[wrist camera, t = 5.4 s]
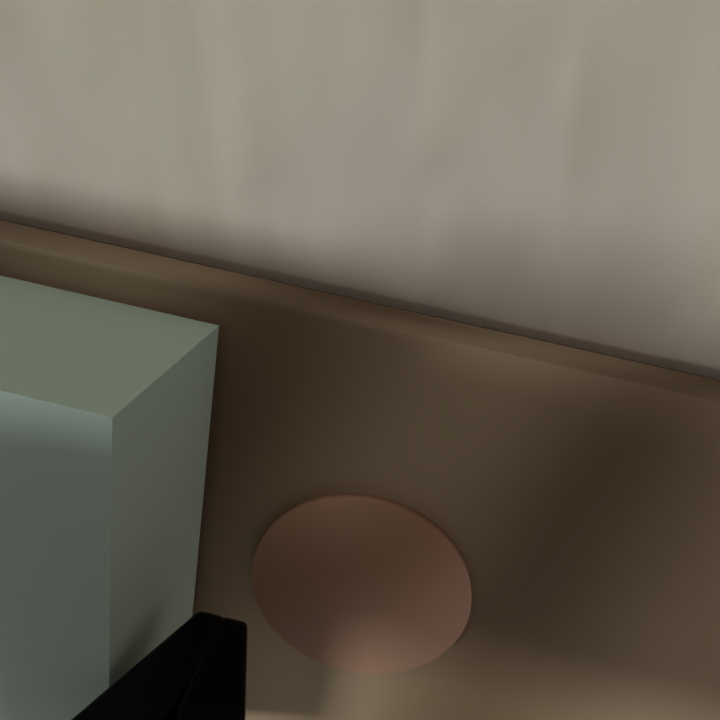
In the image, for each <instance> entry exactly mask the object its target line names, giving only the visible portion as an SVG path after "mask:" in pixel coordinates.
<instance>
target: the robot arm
mask: <svg viewBox="0 0 720 720" xmlns="http://www.w3.org/2000/svg"><path fill="white" fill-rule="evenodd" d="M246 674H247V624H246V623H245V622H243V621H239V620H236V619H232V618H228V617H225V618H223V617H222V616H220V615H216V614H212V613H208V612H205V611H200V612H197V613H196V614H195V615H193V616H192V617H191V618H190V619H189V620H187V621H186V622H185V623H184V624H183V625H182V626H180V627H179V628H178V629H177V630H176V631H175V632H173V633H172V634H171V635H170V636H169V637H167V638H166V639H165V640H164V641H163V642H162V643H160V644H159V645H158V646H157V647H156V648H155V649H153V650H152V651H151V652H150V653H149V654H148V655H146V656H145V657H144V658H143V659H142V660H141V661H139V662H138V663H137V664H136V665H135V666H134V667H132V668H131V669H130V670H129V671H128V672H126V673H125V674H124V675H123V676H122V677H121V678H119V679H118V680H117V681H116V682H115V683H114V684H112V685H111V686H110V687H109V688H108V689H107V690H105V691H104V692H103V693H102V694H101V695H100V696H98V697H97V698H96V699H95V700H94V701H92V702H91V703H90V704H89V705H88V706H87V707H85V708H84V709H83V710H82V711H81V712H80V713H78V714H77V715H76V716H75V717H74V718H73V719H71V720H245V719H246Z"/></svg>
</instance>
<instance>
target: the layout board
mask: <svg viewBox="0 0 720 720" xmlns="http://www.w3.org/2000/svg"><path fill="white" fill-rule="evenodd" d="M0 275H1V276H5V277H10V278H14V279H18V280H23V281H27V282H31V283H36V284H40V285H44V286H49V287H53V288H58V289H62V290H66V291H71V292H75V293H79V294H84V295H88V296H92V297H97V298H101V299H106V300H110V301H114V302H119V303H123V304H127V305H132V306H136V307H141V308H145V309H149V310H154V311H158V312H162V313H167V314H171V315H175V316H180V317H184V318H189V319H193V320H197V321H202V322H206V323H210V324H215V325H219V332H218V343H217V353H216V364H215V375H214V386H213V397H212V408H211V419H210V429H209V440H208V451H207V462H206V473H205V484H204V495H203V506H202V516H201V527H200V538H199V549H198V560H197V571H196V582H195V593H194V603H193V614H192V616H193V615H195V614H196V613H197V612H200V611H205V612H208V613H212V614H216V615H220V616H222V617H223V618H225V617H228V618H232V619H236V620H239V621H243V622H245V623H246V624H247V674H246V719H245V720H720V380H715V379H711V378H706V377H702V376H697V375H693V374H688V373H684V372H680V371H675V370H671V369H666V368H662V367H657V366H653V365H648V364H644V363H639V362H635V361H630V360H626V359H621V358H617V357H612V356H608V355H603V354H599V353H594V352H590V351H585V350H581V349H576V348H572V347H567V346H563V345H558V344H554V343H549V342H545V341H540V340H536V339H532V338H527V337H523V336H518V335H514V334H509V333H505V332H500V331H496V330H491V329H487V328H482V327H478V326H473V325H469V324H464V323H460V322H455V321H451V320H446V319H442V318H437V317H433V316H428V315H424V314H419V313H415V312H410V311H406V310H401V309H397V308H392V307H388V306H384V305H379V304H375V303H370V302H366V301H361V300H357V299H352V298H348V297H343V296H339V295H334V294H330V293H325V292H321V291H316V290H312V289H307V288H303V287H298V286H294V285H289V284H285V283H280V282H276V281H271V280H267V279H262V278H258V277H253V276H249V275H244V274H240V273H236V272H231V271H227V270H222V269H218V268H213V267H209V266H204V265H200V264H195V263H191V262H186V261H182V260H177V259H173V258H168V257H164V256H159V255H155V254H150V253H146V252H141V251H137V250H132V249H128V248H123V247H119V246H114V245H110V244H105V243H101V242H96V241H92V240H88V239H83V238H79V237H74V236H70V235H65V234H61V233H56V232H52V231H47V230H43V229H38V228H34V227H29V226H25V225H20V224H16V223H11V222H7V221H2V220H0Z"/></svg>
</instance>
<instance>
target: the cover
mask: <svg viewBox="0 0 720 720" xmlns="http://www.w3.org/2000/svg"><path fill="white" fill-rule="evenodd" d="M218 332H219V325H215V324H210V323H206V322H202V321H197V320H193V319H189V318H184V317H180V316H175V315H171V314H167V313H162V312H158V311H154V310H149V309H145V308H141V307H136V306H132V305H127V304H123V303H119V302H114V301H110V300H106V299H101V298H97V297H92V296H88V295H84V294H79V293H75V292H71V291H66V290H62V289H58V288H53V287H49V286H44V285H40V284H36V283H31V282H27V281H23V280H18V279H14V278H10V277H5V276H1V275H0V720H71V719H73V718H74V717H75V716H76V715H77V714H78V713H80V712H81V711H82V710H83V709H84V708H85V707H87V706H88V705H89V704H90V703H91V702H92V701H94V700H95V699H96V698H97V697H98V696H100V695H101V694H102V693H103V692H104V691H105V690H107V689H108V688H109V687H110V686H111V685H112V684H114V683H115V682H116V681H117V680H118V679H119V678H121V677H122V676H123V675H124V674H125V673H126V672H128V671H129V670H130V669H131V668H132V667H134V666H135V665H136V664H137V663H138V662H139V661H141V660H142V659H143V658H144V657H145V656H146V655H148V654H149V653H150V652H151V651H152V650H153V649H155V648H156V647H157V646H158V645H159V644H160V643H162V642H163V641H164V640H165V639H166V638H167V637H169V636H170V635H171V634H172V633H173V632H175V631H176V630H177V629H178V628H179V627H180V626H182V625H183V624H184V623H185V622H186V621H187V620H189V619H190V618H191V617H192V614H193V603H194V593H195V582H196V571H197V560H198V549H199V538H200V527H201V516H202V506H203V495H204V484H205V473H206V462H207V451H208V440H209V429H210V419H211V408H212V397H213V386H214V375H215V364H216V353H217V343H218Z"/></svg>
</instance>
